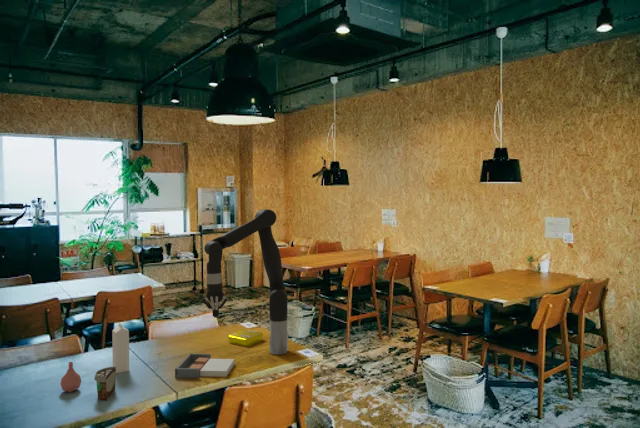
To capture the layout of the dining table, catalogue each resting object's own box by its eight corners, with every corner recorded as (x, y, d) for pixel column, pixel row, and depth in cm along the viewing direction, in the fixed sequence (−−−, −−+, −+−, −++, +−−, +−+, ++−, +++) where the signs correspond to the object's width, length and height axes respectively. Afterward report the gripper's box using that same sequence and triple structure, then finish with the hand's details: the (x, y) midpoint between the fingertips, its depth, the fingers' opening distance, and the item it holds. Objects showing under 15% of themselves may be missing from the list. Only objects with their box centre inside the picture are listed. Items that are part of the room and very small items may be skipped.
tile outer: (203, 369, 221) (203, 364, 220) (199, 373, 216) (199, 368, 215) (192, 369, 221) (192, 364, 221) (189, 373, 216) (189, 368, 216)
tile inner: (209, 363, 229) (209, 358, 229) (204, 366, 225) (204, 361, 224) (199, 362, 230) (199, 357, 230) (195, 366, 225) (195, 360, 225)
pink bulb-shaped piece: (59, 396, 192) (59, 366, 192) (61, 388, 199) (60, 360, 199) (81, 392, 196) (80, 364, 195) (81, 386, 202) (81, 358, 202)
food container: (101, 389, 199) (101, 366, 198) (116, 389, 199) (116, 366, 199) (89, 402, 186) (89, 377, 186) (105, 402, 187) (105, 377, 186)
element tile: (264, 340, 269) (264, 332, 269) (247, 347, 256) (247, 338, 256) (244, 336, 277) (244, 328, 277) (226, 343, 264) (226, 334, 264)
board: (234, 364, 230) (234, 359, 229) (226, 376, 214) (226, 371, 213) (210, 363, 230) (210, 358, 230) (200, 376, 214) (200, 370, 214)
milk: (115, 373, 217) (115, 326, 216) (112, 369, 222) (111, 323, 221) (129, 370, 220) (128, 324, 219) (126, 367, 225) (125, 321, 224)
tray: (210, 361, 233) (210, 353, 232) (197, 378, 212) (197, 369, 212) (189, 361, 233) (189, 353, 233) (175, 377, 212) (174, 368, 212)
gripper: (229, 280, 235) (230, 314, 236) (203, 281, 235) (204, 315, 236) (226, 283, 228) (227, 318, 228) (199, 283, 228) (200, 319, 228)
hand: (215, 317), depth 232 cm, fingers closed
